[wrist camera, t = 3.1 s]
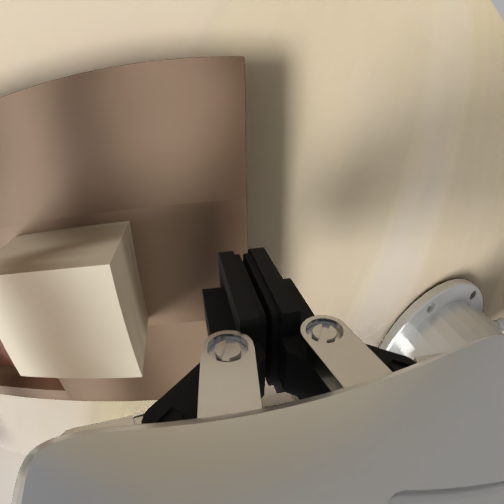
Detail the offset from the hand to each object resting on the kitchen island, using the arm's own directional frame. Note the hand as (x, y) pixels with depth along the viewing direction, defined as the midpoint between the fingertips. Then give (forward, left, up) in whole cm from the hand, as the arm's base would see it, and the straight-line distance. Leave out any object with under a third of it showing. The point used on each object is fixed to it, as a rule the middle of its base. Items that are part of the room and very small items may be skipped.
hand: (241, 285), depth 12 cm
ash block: (+7, 0, -3) cm, 8 cm away
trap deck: (+13, 0, -5) cm, 14 cm away
